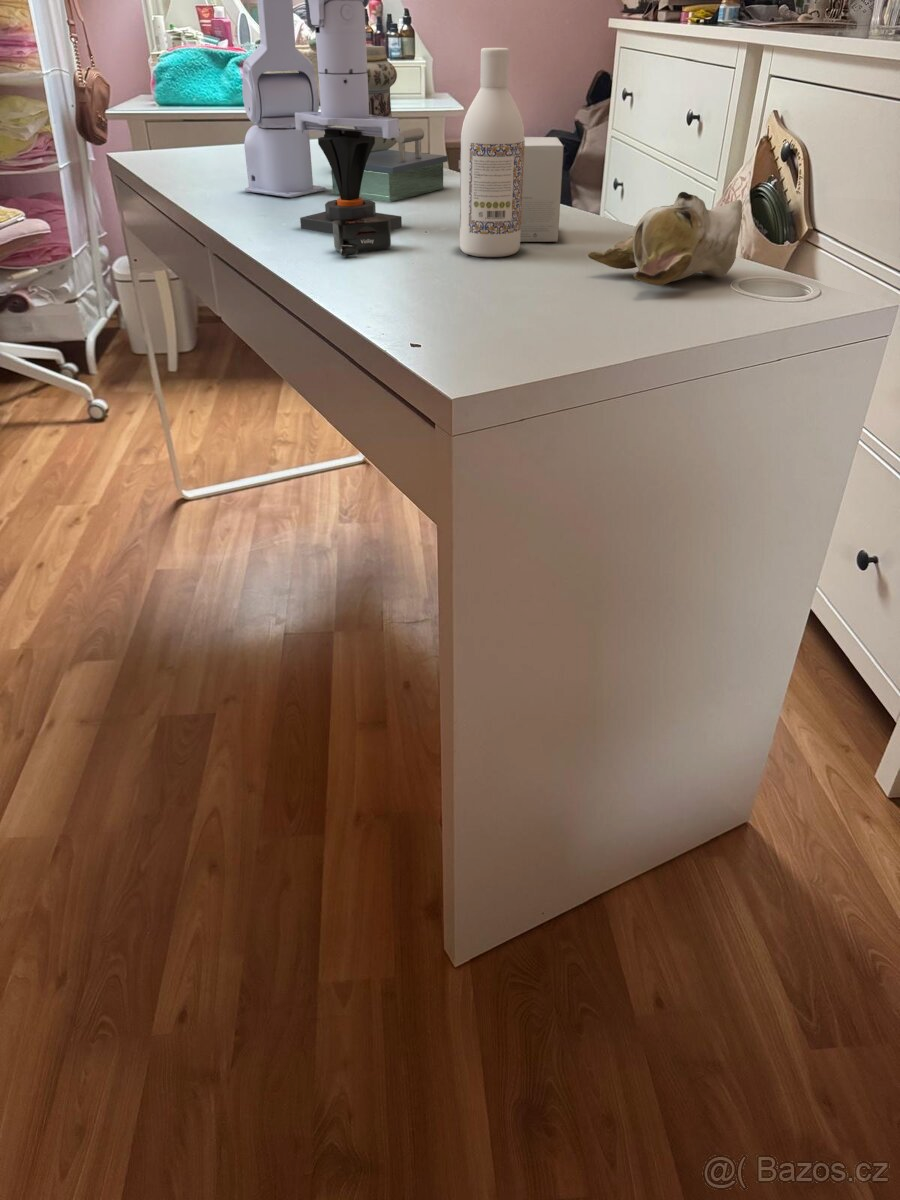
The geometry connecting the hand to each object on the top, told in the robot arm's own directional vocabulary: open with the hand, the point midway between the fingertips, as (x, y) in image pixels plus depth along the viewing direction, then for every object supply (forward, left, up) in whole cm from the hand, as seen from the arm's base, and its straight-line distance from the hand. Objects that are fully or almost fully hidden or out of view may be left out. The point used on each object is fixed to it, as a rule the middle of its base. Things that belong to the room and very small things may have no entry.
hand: (350, 199), depth 111 cm
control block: (0, 0, -3) cm, 3 cm away
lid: (-12, +24, 0) cm, 26 cm away
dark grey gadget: (+9, -9, -4) cm, 14 cm away
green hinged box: (-12, +24, -3) cm, 27 cm away
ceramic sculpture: (+43, -1, -4) cm, 43 cm away
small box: (+21, +10, -4) cm, 23 cm away
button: (0, 0, -1) cm, 1 cm away
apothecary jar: (-27, +37, -4) cm, 46 cm away
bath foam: (+21, 0, -4) cm, 21 cm away
